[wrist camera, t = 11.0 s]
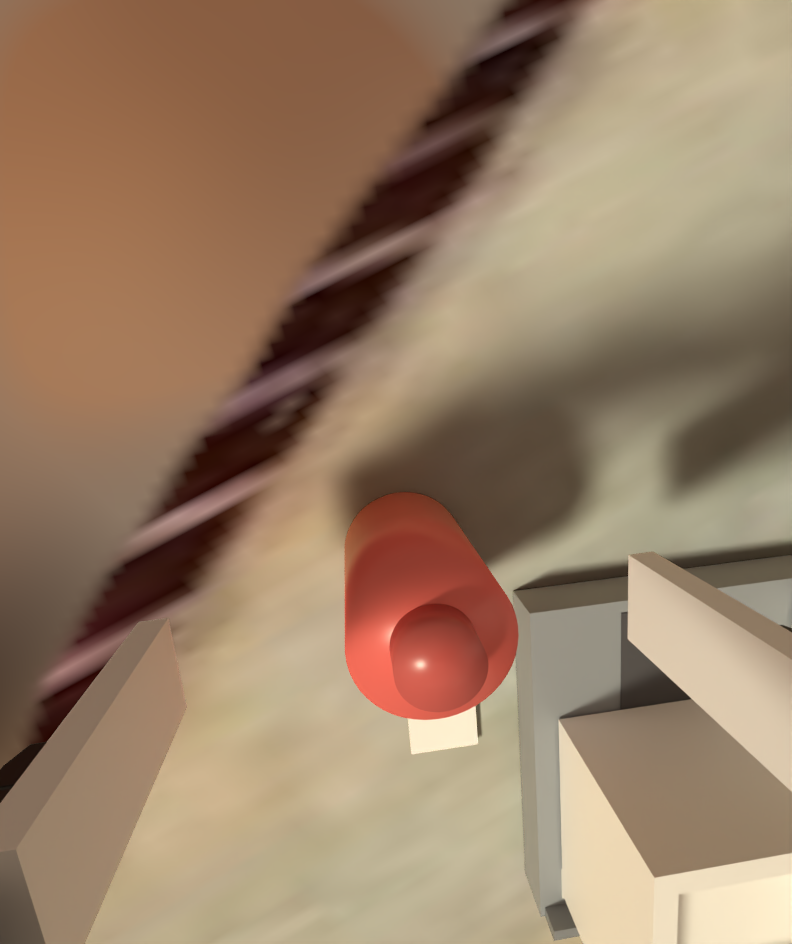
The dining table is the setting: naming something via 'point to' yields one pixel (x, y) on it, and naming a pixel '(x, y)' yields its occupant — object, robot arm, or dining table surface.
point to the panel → (586, 692)
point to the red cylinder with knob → (422, 611)
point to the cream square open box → (671, 831)
